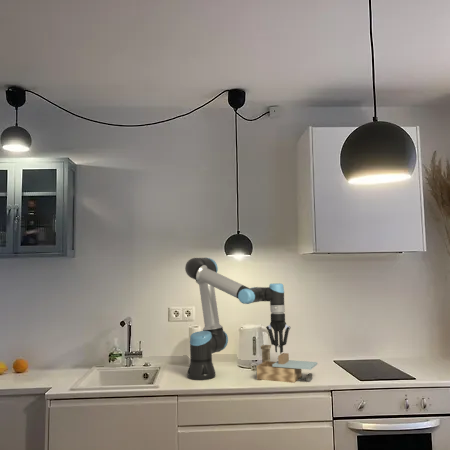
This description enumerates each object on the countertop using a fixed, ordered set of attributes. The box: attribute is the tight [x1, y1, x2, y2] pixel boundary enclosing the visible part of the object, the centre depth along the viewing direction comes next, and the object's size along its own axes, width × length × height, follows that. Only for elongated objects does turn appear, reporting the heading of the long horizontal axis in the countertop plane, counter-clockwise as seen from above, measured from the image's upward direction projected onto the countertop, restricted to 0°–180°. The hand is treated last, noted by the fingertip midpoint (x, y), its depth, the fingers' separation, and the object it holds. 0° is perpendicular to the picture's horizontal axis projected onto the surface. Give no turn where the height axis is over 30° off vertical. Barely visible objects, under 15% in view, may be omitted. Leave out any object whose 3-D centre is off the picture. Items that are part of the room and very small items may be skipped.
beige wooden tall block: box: [260, 344, 272, 363], centre depth 252 cm, size 4×4×14 cm
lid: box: [272, 352, 318, 371], centre depth 229 cm, size 20×13×5 cm, turn 64°
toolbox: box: [256, 360, 313, 384], centre depth 231 cm, size 26×13×7 cm, turn 64°
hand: (279, 358), depth 233 cm, fingers closed
